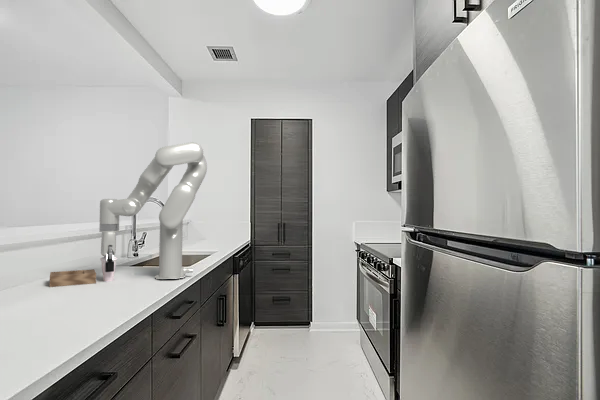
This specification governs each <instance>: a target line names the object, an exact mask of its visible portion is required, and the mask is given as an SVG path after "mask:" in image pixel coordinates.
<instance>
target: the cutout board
mask: <svg viewBox="0 0 600 400" xmlns="http://www.w3.org/2000/svg"><path fill="white" fill-rule="evenodd" d="M91 284H97V273H96V270H95V269H92V268H91V269H79V270H77V269H76V270H61V271H50V274H49V287H50V288H53V287H66V286H77V285H78V286H80V285H91Z"/></svg>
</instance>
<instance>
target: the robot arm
mask: <svg viewBox="0 0 600 400" xmlns="http://www.w3.org/2000/svg"><path fill="white" fill-rule="evenodd" d="M185 164H187V168H186V169H185V172H184V174H183V175H182V178H181V179H180V181H179V182H178V184H177V185H175V186H174V188H173V189H172V191H171V193H170V194H169V196H168V198H167V199H166V201H165V203H164V205H163V206H162V208H161V210H160V211H159V214H158V219H159V245H158V247H159V249H158V250H159V251H158V252H159V254H158V255H159V256H158V257H159V258H158V259H159V260H158V274H156V275H155V276H154V278H156V279H155V280H157V279H175V278H180V277H184V276H185V277H186V274H189V273H190V274H192V273H194V269H193V268H192V267H191V268H187V267H183V227H184V226H183V225H184V224H183V222H184V221H183V220H184V218H185V217H186V215H187V213H188V211H189V210H190V208H191V206H192V204H193V203H194V201H195V198H196V194H197V193H198V191H199V189H200V187H201V185H202V183H203V182H204V179H205V177H206V175H207V171H208V164H207V160H206V157H205V156H204V149H203V147H202V146H201V144H200V143H197V142H193V141H192V142H191V141H190V142H184V143H180V144H179V143H178V144H172V145H167V146H162V147H160V148H158V149H157V150H156V152H155V155H154V157H153V159H152V160H151V161H150V163H149V164H148V165H147V167H145V169H144V170H143V172H142V173H141V174H140V176H139V178H138V181H137V184H136V186H134V189H132V191H131V193H130V194H129V195H128V196H127V198H124V199H117V198H102V199H101V200H100V201H99V227H98V229H99V232H100V233H101V239H100V241H101V242H100V243H101V245H100V246H101V247H100V254H101V257H106V262H105V272H113V271H114V257H115V255H116V250H117V249H116V247H117V233H118V232H120V216H121V217H132V216H133V217H134V216H135V215H137V214H138V213H139V212H140V211H141V210H142V209H143V207H144V206H145V204H146V203H147V202H148V200H149V199H150V197H151V196H152V195H153V193H154V192H155V191H156V190H157V188H159V186H160V185H161V183H162V182H163V180H164V179H165V178H166V177H167V175H168V173H170V172H171V170H172V169H173V168H174V166H180V165H185ZM107 254H108V255H107Z"/></svg>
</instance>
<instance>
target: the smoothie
mask: <svg viewBox="0 0 600 400" xmlns="http://www.w3.org/2000/svg"><path fill="white" fill-rule="evenodd" d="M107 255H108V254H107ZM117 260H118V257H117V256H114V271H113V272H105V262H106V257H104V256H101V257H100V262H101V268H102V279H103V282H106V283H107V282H113V281H115V279H114V278H115V272H116V265H117Z"/></svg>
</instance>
